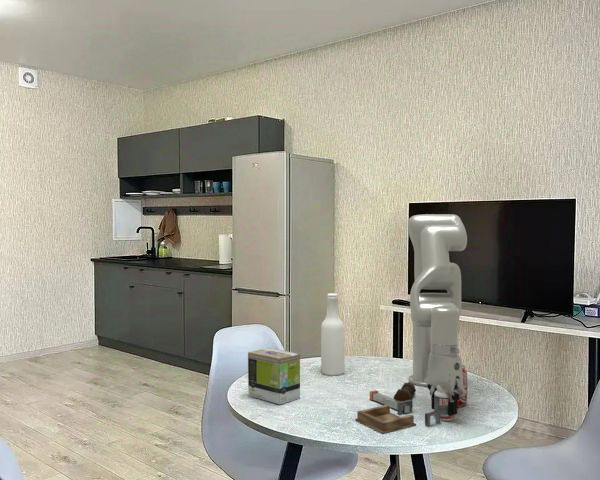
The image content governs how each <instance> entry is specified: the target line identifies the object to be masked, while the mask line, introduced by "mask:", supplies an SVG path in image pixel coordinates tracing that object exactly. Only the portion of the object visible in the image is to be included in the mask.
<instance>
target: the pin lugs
mask: <svg viewBox="0 0 600 480" xmlns="http://www.w3.org/2000/svg"><path fill="white" fill-rule="evenodd" d="M404 404H408V405H410V412H409V413H412V412H413V399H412V400H406V401H402V402H397V410H396V411H397V414H396V415H398V416H399V415H400V416H401V415H403V412H402V405H404ZM434 415H435V417H434V420H435V422H434V423H435V424H438V425H440V424H441V422H442V420H441V411H438V410H437V411H434V410H433V411H430V412H425V413H424V426H425V427H427V428H428V427H431V417H432V416H434Z"/></svg>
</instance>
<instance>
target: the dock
mask: <svg viewBox="0 0 600 480" xmlns="http://www.w3.org/2000/svg"><path fill="white" fill-rule="evenodd" d="M390 410H391V407H390V406H389V405H384V404H383V405H380V406H375V407H372V408H368V409H362V410H358V411H357V415H356V417H357V418H355V419H354V420H355V422H357V423H359V424H361V425H362V426H364V427H367V428H369V429H371V430H374V431H375V432H377V433H380V434H382V435H384V434H388V433H392V432H395V431H399V430H404V429H407V428H411V427H415V426H417V423H415V422H414V421H415V417H414V415H413V414H408V415H403V416H399V415H398V414H395V413H392V412H391V411H390Z"/></svg>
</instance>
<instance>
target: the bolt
mask: <svg viewBox="0 0 600 480" xmlns="http://www.w3.org/2000/svg"><path fill="white" fill-rule="evenodd" d="M416 392H417V390H416V385H415V384H412V383H410V382H403V384H402V386H401V388H398V389H397V390H396V392H395V394H394V396H393V397H392V398H393V399H396V400H398V401H401V402H402V401H406V400H412V401H413V399H414V398H413V397H414V395H415V394H416Z"/></svg>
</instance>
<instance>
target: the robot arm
mask: <svg viewBox="0 0 600 480" xmlns="http://www.w3.org/2000/svg"><path fill="white" fill-rule="evenodd" d="M407 230H408V235H409V238H410V240H411V243H412V244H411V245H412V246H413V252H414V255H413V256H414V262H413V263H414V265H413V266H414V267H413V268H414V282H413V284H412V287H411V289H410V292H409V293H410V294H409V300H410V301H409V308H410V317H411V318H410V319H411V323H412V375H410V376H409V377H408V378H407V379H408V383H412V384H413V385H414V386H420V387H427V389H428V391H429V395H430V396H431V397H430V399H431V410H433V411H434V393H435V391H436V390H437V388H436V387H437V385H439V386H441V388H442V389H443V390H445V391H447V392H448V396H449V400H450V401H449V402H448V415H449V416H452V415H458V407H457V401H459V399H460V398H461V397H462V396H463V395H464V394H465V393H466V390H465V389H464V387H463V371H462V365H463V364H462V360H461V356H460V355H458V354H460V349H459V343H458V342H459V336H458V335H459V329H458V328H459V327H458V325H459V322H460V317H461V312H462V273H461V269H460V266H459V265H458V264H457V263H455V262H450V253H449V252H462V251H463V252H464V250H465V249H466V248H467V246H468V245H467V244H468V235H467V231H466V228H465V225H464V223H463V222H462V218H461V217H460V216H458V215H457V214H452V213H451V214H450V213H448V214H447V213H446V214H445V213H443V214H441V213H439V214H438V213H437V214H435V213H431V214H429V213H425V214H416V215H412V216H411V217H409V219H408V220H407ZM421 290H445V291H447V292H421ZM457 390H458V391H457ZM452 392H453V393H454V396H453V394H452Z"/></svg>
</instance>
